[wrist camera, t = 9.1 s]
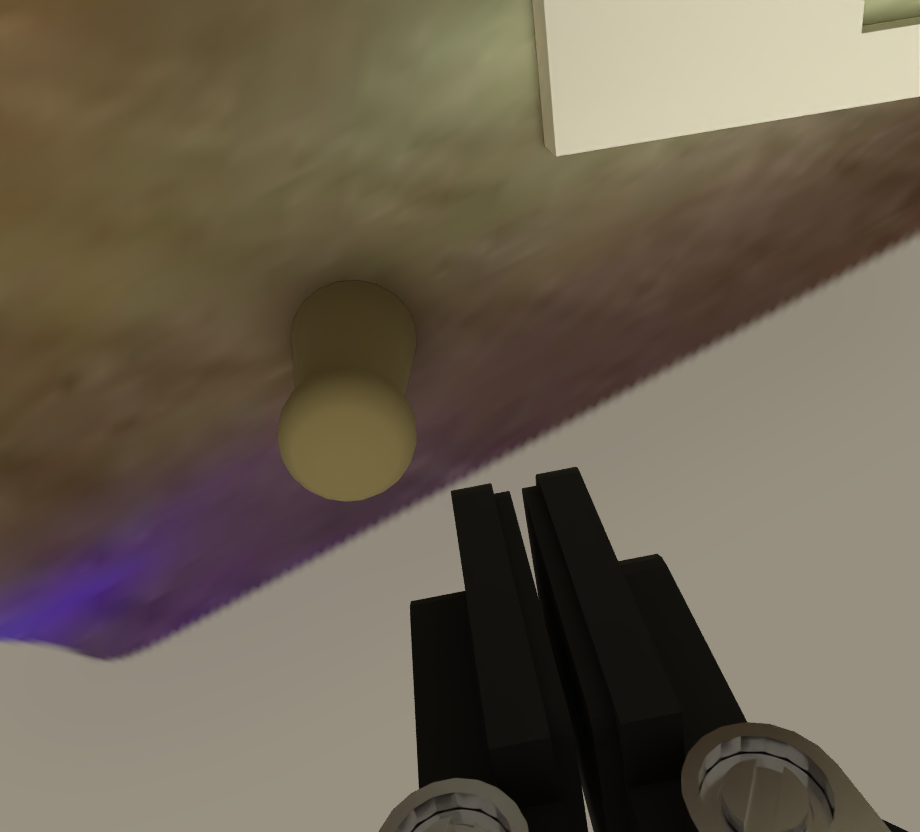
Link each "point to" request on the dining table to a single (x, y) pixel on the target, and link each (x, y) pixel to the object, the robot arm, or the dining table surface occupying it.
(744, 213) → the dining table surface
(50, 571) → the dining table surface
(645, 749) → the robot arm
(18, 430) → the dining table surface
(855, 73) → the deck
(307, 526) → the dining table surface
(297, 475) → the cork
